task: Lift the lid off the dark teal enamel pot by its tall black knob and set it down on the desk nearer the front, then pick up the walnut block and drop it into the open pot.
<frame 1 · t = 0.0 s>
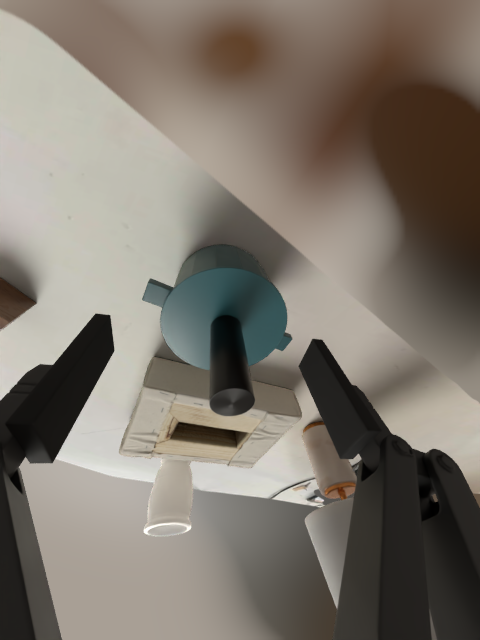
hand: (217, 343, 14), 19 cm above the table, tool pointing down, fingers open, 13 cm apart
lamp: (315, 429, 61), on the table
box: (210, 405, 50), on the table
pot: (222, 289, 33), on the table
jar: (176, 458, 62), on the table
block: (7, 299, 31), on the table
lid: (225, 325, 26), point 9 cm above the table, touching pot
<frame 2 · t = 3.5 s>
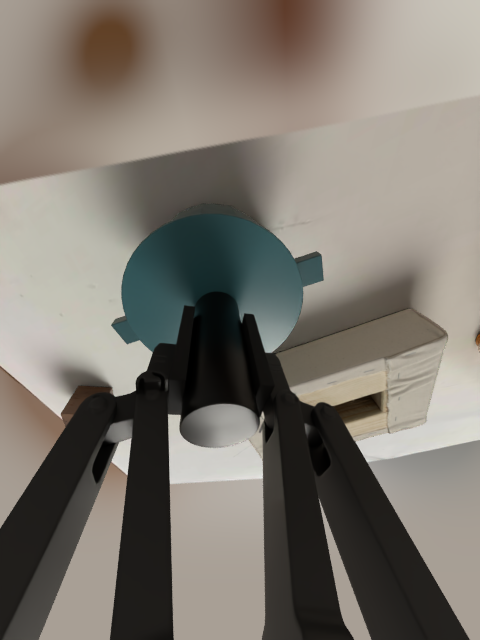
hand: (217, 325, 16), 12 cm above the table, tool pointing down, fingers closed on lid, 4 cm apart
box: (319, 382, 41), on the table
pot: (215, 267, 26), on the table
block: (97, 396, 37), on the table
lid: (216, 307, 18), point 10 cm above the table, touching gripper, pot
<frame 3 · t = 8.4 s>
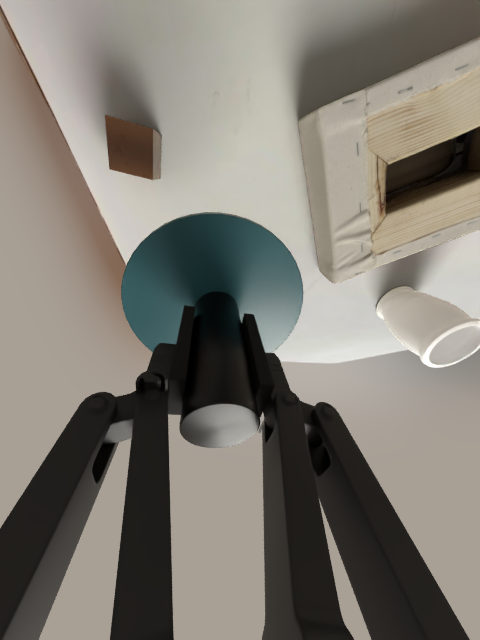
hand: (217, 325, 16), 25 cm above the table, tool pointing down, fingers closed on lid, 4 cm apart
box: (404, 169, 34), on the table
jar: (393, 302, 49), on the table
block: (141, 152, 29), on the table
lid: (216, 307, 18), point 22 cm above the table, touching gripper
when the fingers open (3 cm above the table, at t = 13.4 s): lid stays where it is, point 1 cm above the table.
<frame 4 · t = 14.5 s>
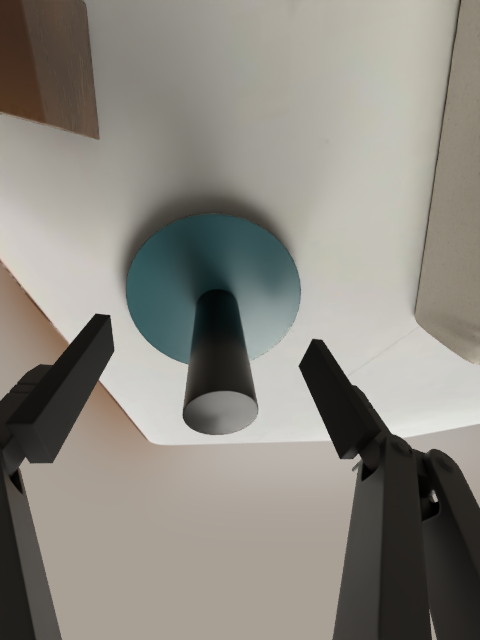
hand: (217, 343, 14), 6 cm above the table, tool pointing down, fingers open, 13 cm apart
block: (39, 63, 11), on the table
lid: (217, 304, 19), point 1 cm above the table
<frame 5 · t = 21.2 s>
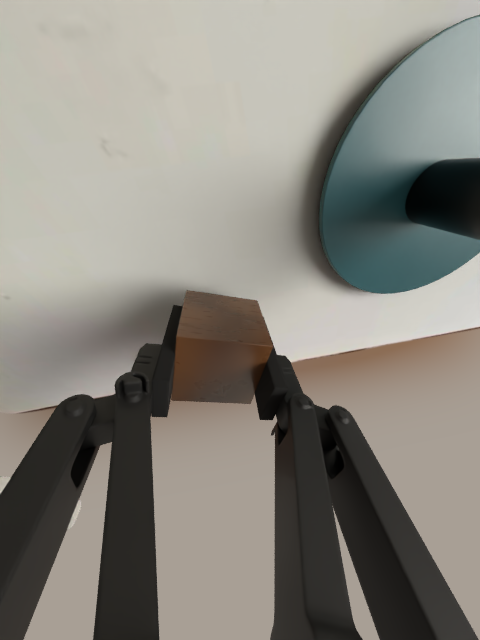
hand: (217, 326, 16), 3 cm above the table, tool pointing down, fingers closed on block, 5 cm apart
block: (217, 324, 16), point 3 cm above the table, touching gripper
lid: (426, 192, 15), point 1 cm above the table
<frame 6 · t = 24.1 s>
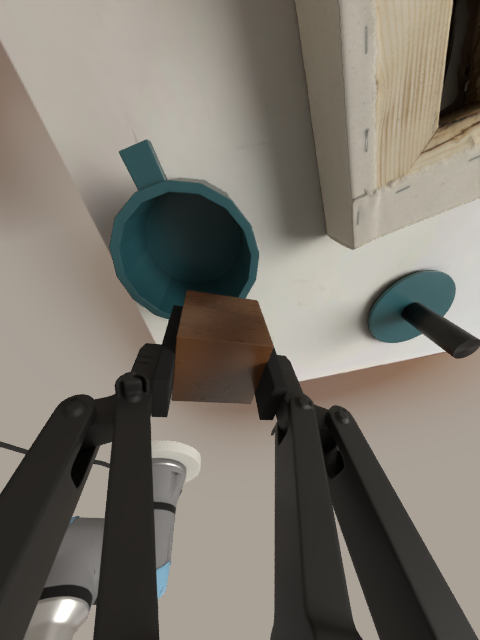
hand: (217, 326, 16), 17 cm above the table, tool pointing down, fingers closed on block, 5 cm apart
box: (421, 28, 20), on the table
pot: (194, 240, 29), on the table
block: (217, 324, 16), point 17 cm above the table, touching gripper
lid: (409, 309, 38), point 1 cm above the table
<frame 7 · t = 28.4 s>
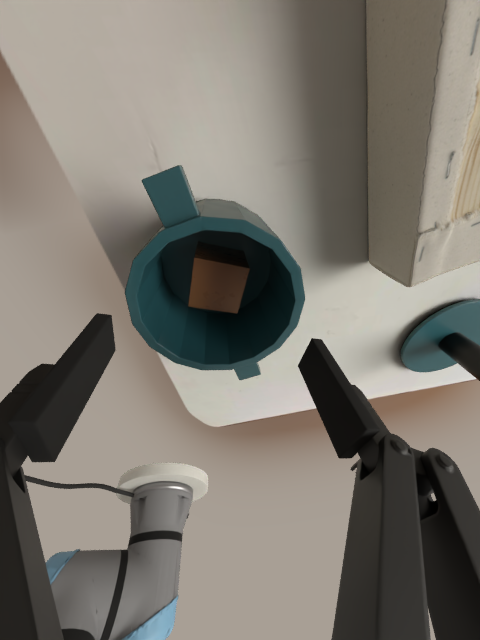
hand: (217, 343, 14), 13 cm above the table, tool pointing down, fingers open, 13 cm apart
pot: (217, 266, 25), on the table
block: (217, 268, 24), resting on pot
lid: (446, 338, 35), point 1 cm above the table
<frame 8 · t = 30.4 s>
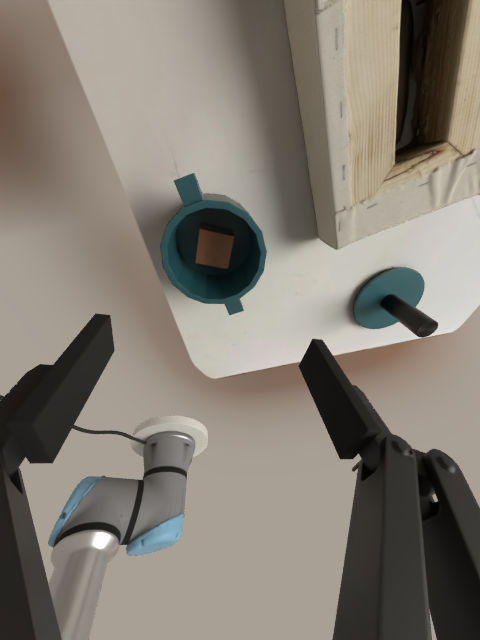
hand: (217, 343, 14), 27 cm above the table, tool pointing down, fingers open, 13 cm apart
box: (385, 90, 28), on the table
pot: (214, 240, 36), on the table
block: (214, 241, 36), resting on pot
lid: (387, 300, 46), point 1 cm above the table
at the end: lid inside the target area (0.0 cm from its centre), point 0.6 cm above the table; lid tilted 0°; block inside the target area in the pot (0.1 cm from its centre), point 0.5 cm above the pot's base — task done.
